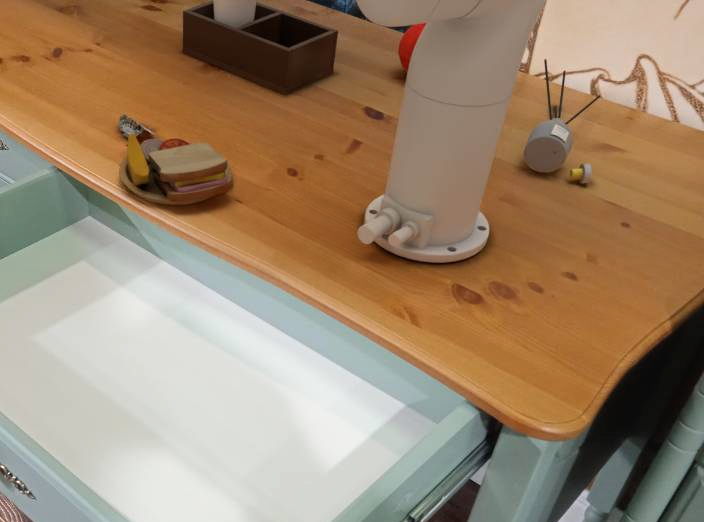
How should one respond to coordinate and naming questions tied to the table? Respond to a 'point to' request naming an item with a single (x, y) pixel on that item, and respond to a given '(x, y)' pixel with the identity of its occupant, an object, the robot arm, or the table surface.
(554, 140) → the reed diffuser
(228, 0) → the tall white cup
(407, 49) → the apple
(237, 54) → the divided wooden box
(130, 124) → the silver ridged wedge
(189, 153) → the toy sandwich meal
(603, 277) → the table surface
